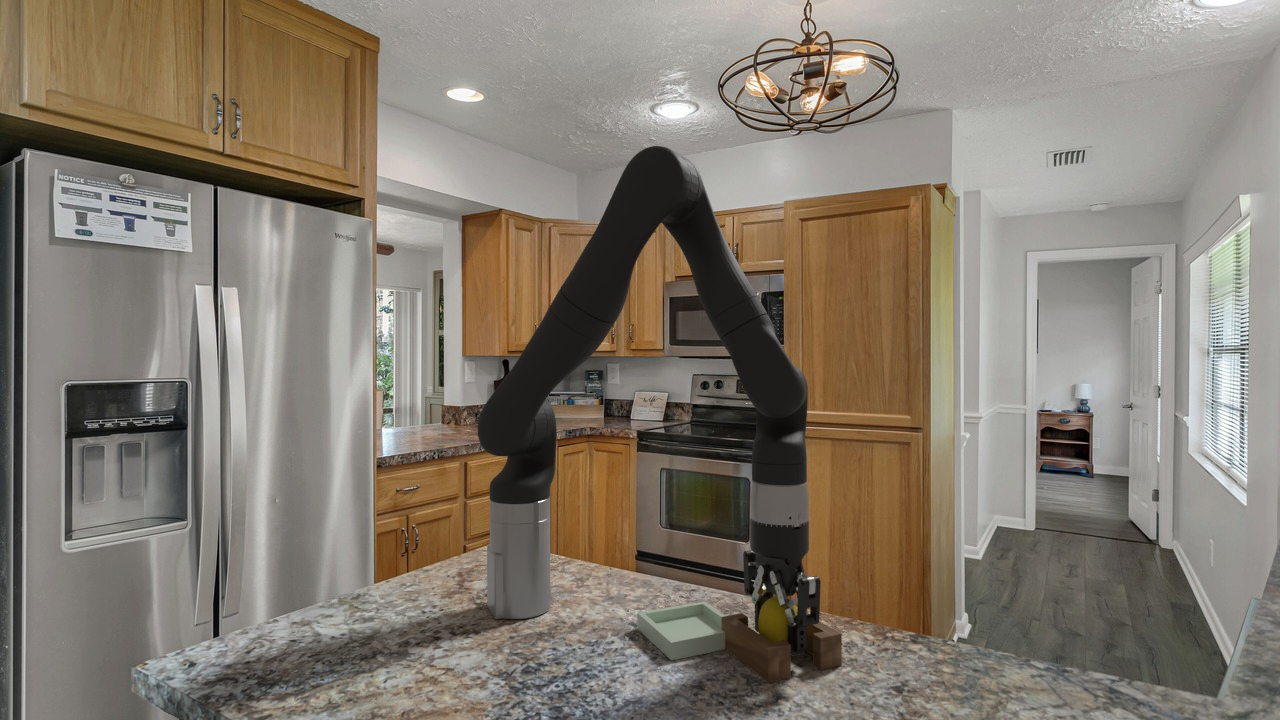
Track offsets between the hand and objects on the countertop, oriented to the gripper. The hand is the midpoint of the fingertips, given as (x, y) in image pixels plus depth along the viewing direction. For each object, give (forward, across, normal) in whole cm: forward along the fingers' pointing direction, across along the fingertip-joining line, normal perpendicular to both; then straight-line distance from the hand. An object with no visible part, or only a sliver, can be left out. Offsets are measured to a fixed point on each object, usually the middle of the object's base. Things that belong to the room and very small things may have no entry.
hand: (779, 642), depth 88 cm
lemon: (+2, 0, 0) cm, 2 cm away
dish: (+2, -10, -8) cm, 13 cm away
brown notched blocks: (+2, 0, 0) cm, 2 cm away
